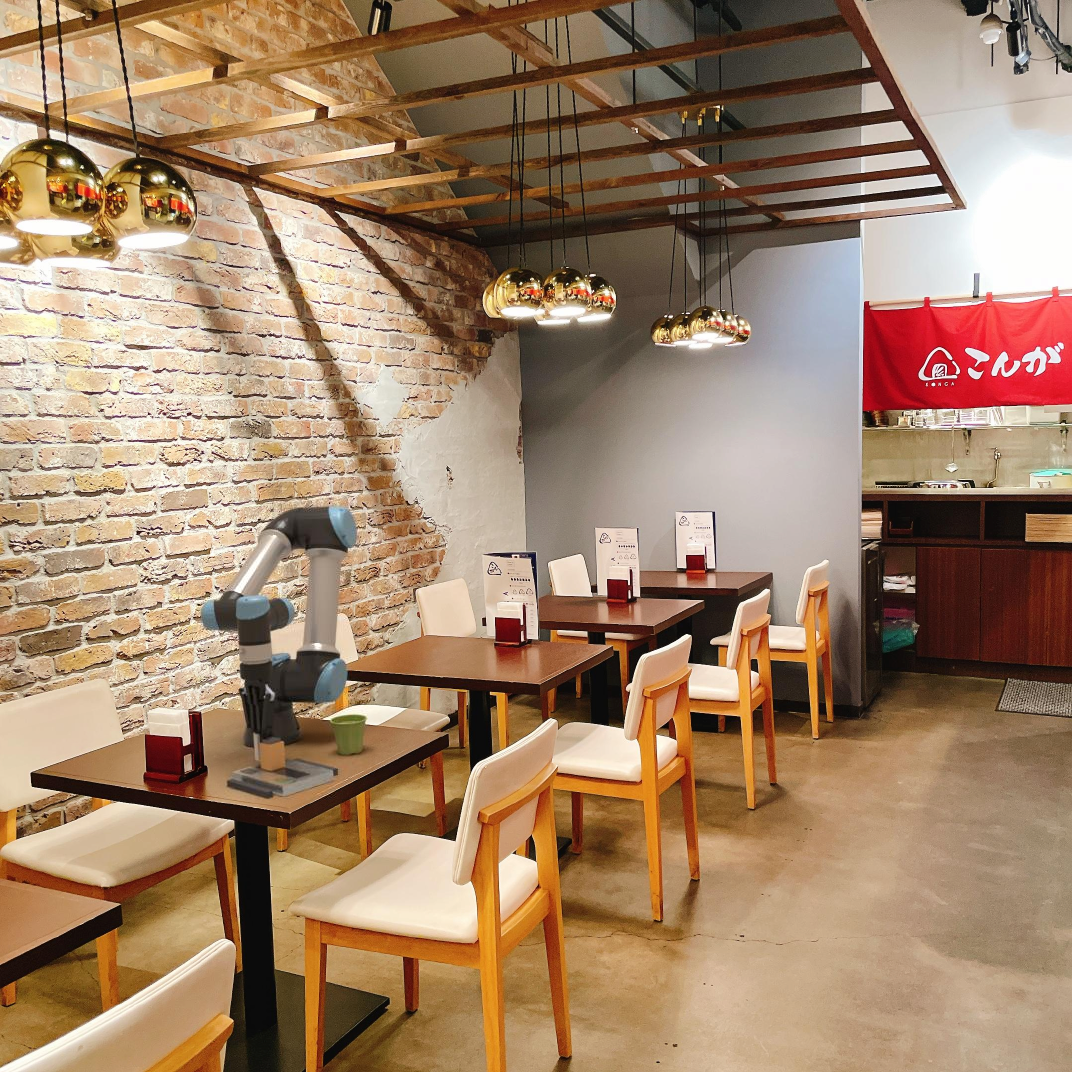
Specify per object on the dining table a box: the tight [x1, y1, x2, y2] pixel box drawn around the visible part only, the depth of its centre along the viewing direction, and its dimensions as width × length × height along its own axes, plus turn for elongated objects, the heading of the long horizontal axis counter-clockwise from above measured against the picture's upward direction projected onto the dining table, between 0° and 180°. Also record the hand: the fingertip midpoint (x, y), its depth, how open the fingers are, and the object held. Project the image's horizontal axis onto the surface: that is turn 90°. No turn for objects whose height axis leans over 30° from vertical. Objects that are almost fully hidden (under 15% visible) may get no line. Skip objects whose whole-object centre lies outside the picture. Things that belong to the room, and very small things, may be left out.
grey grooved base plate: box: [226, 758, 339, 799], centre depth 235 cm, size 17×20×1 cm
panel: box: [231, 757, 335, 798], centre depth 235 cm, size 20×14×3 cm
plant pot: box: [329, 713, 368, 756], centre depth 257 cm, size 9×9×9 cm
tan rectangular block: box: [260, 737, 286, 771], centre depth 237 cm, size 4×4×7 cm
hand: (261, 758), depth 239 cm, fingers closed
